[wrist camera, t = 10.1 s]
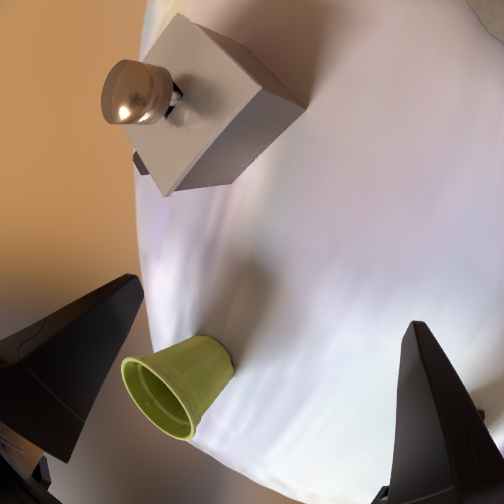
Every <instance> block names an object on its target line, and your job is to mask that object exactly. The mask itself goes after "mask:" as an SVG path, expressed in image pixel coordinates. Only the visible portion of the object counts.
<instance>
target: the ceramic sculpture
mask: <svg viewBox="0 0 504 504" xmlns="http://www.w3.org/2000/svg"><path fill="white" fill-rule="evenodd" d="M466 1H467V3H468V5H469V6H470V7H471V9H472V10H473V11H474V12H475V14H476V15H477V16H478V18H479V19H480V21H481V23H482V24H483V25H484V27H485V28H486V30H487V31H488V32H489V33H490V34H492V35H493V36H494V37H496V38H497V39H498V40H500V41H502V42H503V43H504V0H466Z"/></svg>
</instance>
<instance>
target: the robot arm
mask: <svg viewBox="0 0 504 504" xmlns="http://www.w3.org/2000/svg"><path fill="white" fill-rule="evenodd" d="M143 298H144V291H143V288H142V285H141V283H140V280H139V278H138V276H137V275H134V274H130V273H127V274H124V275H123V276H121V277H119V278H117V279H115V280H113V281H111V282H109V283H107V284H106V285H103V286H102V287H100V288H98V289H96V290H94V291H92V292H90V293H88V294H86V295H85V296H83V297H81V298H79V299H77V300H75V301H74V302H72V303H70V304H68V305H66V306H64V307H63V308H61V309H59V310H57V311H55V312H54V313H52V314H50V315H48V317H45V318H43V319H41V320H39V321H38V322H36V323H34V324H32V325H30V326H28V327H26V328H24V329H22V330H20V331H18V332H16V333H14V334H12V335H10V336H8V337H6V338H4V339H1V340H0V504H62V503H61V502H60V501H59V500H57V499H56V498H55V497H54V496H53V495H52V494H50V493H49V492H48V491H47V490H48V488H49V486H50V484H51V478H50V474H49V469H48V464H47V458H46V457H45V456H44V455H43V453H44V452H47V453H48V454H50V455H52V456H53V457H55V458H57V459H59V460H61V461H62V462H64V463H66V464H68V462H69V460H70V457H71V455H72V453H73V450H74V448H75V445H76V443H77V440H78V438H79V436H80V433H81V431H82V429H83V427H84V424H85V421H86V420H87V417H88V415H89V413H90V411H91V409H92V406H93V404H94V402H95V400H96V398H97V396H98V393H99V391H100V389H101V387H102V385H103V383H104V381H105V379H106V377H107V375H108V373H109V371H110V369H111V367H112V365H113V363H114V361H115V359H116V357H117V355H118V353H119V351H120V349H121V347H122V345H123V343H124V342H125V340H126V338H127V335H128V334H129V332H130V329H131V326H132V325H133V322H134V320H135V317H136V315H137V313H138V310H139V308H140V305H141V303H142V301H143ZM484 418H485V412H484V411H477V409H476V407H475V405H474V403H473V401H472V399H471V397H470V396H469V394H468V392H467V390H466V388H465V386H464V385H463V383H462V381H461V379H460V378H459V376H458V374H457V373H456V371H455V369H454V367H453V366H452V364H451V362H450V361H449V359H448V357H447V356H446V354H445V353H444V351H443V349H442V348H441V346H440V345H439V343H438V341H437V340H436V338H435V337H434V335H433V334H432V332H431V331H430V329H429V328H428V326H427V325H426V323H425V322H423V321H411V323H410V324H409V326H408V329H407V331H406V333H405V335H404V337H403V339H402V344H401V356H400V367H399V376H398V385H397V408H396V429H395V442H394V453H393V463H392V471H391V479H390V485H389V486H383V487H382V488H381V490H380V491H379V493H378V494H377V496H376V497H375V499H374V500H373V501H372V503H371V504H504V458H503V456H502V455H501V453H500V451H499V450H498V448H497V446H496V444H495V443H494V441H493V439H492V437H491V436H490V434H489V432H488V430H487V428H486V426H485V424H484V422H483V421H484Z"/></svg>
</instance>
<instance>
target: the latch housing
mask: <svg viewBox="0 0 504 504" xmlns="http://www.w3.org/2000/svg"><path fill="white" fill-rule="evenodd" d="M142 63H147V64H152V65H157V66H161V67H164V68H166V69H167V70H168V71H169V72H170V74H171V76H172V80H173V90H174V91H179V92H183V94H184V95H183V97H182V98H181V99H180V101H179V102H178V103H177V105H176V106H169V107H168V109H167V111H166V113H165V114H164V116H163V117H162V118H161V119H160V120H159V121H158V122H156V123H154V124H152V125H132V124H122V126H123V128H124V129H125V131H126V133H127V135H128V137H129V138H130V140H131V142H132V144H133V146H134V147H135V149H136V152H135V153H134V155H133V158H134V159H133V161H134V163H135V165H136V167H137V169H138V170H139V172H140V174H141V175H148V174H150V175H151V177H152V178H153V180H154V182H155V183H156V185H157V187H158V188H159V190H160V192H161V193H162V195H163V197H170V196H171V194H172V193H173V192H174V191H180V190H187V189H195V188H202V187H210V186H218V185H227V184H231V183H232V182H233V181H234V180H235V179H236V178H237V177H238V176H239V175H240V174H241V173H242V172H243V171H244V170H245V169H246V168H247V167H248V166H249V165H250V164H251V163H252V162H253V161H254V160H255V159H256V158H257V157H258V156H259V155H260V154H261V153H262V152H263V151H264V150H265V149H266V148H267V147H268V146H269V145H270V144H271V143H272V142H273V141H274V140H275V139H276V138H277V137H278V136H279V135H280V134H281V133H282V132H283V131H284V130H286V129H287V128H288V127H289V126H290V125H291V124H292V123H293V122H294V121H295V120H296V119H297V118H298V117H299V116H300V115H301V114H302V113H304V112H305V111H306V110H307V109H306V108H305V107H304V106H303V105H302V104H301V103H300V102H299V101H298V100H297V99H296V98H295V97H294V96H293V94H292V93H291V92H290V91H289V90H288V89H287V88H286V87H285V86H284V85H283V84H282V83H281V82H280V81H279V80H278V79H277V78H276V77H275V76H274V75H273V74H272V73H271V72H270V71H269V70H267V69H266V68H265V67H264V66H263V65H262V64H261V63H260V62H259V61H258V60H257V59H256V58H255V57H254V56H252V55H251V54H250V53H249V52H248V51H247V50H246V49H245V48H243V47H242V46H241V45H240V44H238V43H236V42H235V41H233V40H231V39H229V38H227V37H225V36H222V35H220V34H218V33H216V32H214V31H212V30H210V29H208V28H205V27H203V26H201V25H199V24H196V23H194V22H192V21H190V20H189V19H188V18H187V17H186V16H184V15H183V14H181V13H177V14H176V15H175V16H174V18H173V19H172V20H171V22H170V23H169V24H168V26H167V27H166V28H165V30H164V31H163V32H162V34H161V35H160V36H159V38H158V39H157V41H156V42H155V44H154V45H153V46H152V48H151V49H150V51H149V52H148V54H147V55H146V57H145V58H144V60H143V62H142Z"/></svg>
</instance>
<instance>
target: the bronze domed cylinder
mask: <svg viewBox="0 0 504 504" xmlns="http://www.w3.org/2000/svg"><path fill="white" fill-rule="evenodd" d="M183 95H184V94H183V92H179V91H174V90H173V80H172V76H171V74H170V72H169V71H168V70H167V69H166V68H164V67H161V66H157V65H152V64H147V63H142V62H137V61H132V60H122V61H120V62H118V63H117V64H116V65H115V66H114V67H113V68H112V69H111V71H110V72H109V74H108V76H107V78H106V81H105V83H104V86H103V90H102V96H101V108H102V113H103V116H104V118H105V120H106V121H107V122H108V123H110V124H132V125H152V124H154V123H156V122H158V121H159V120H160V119H161V118H162V117H163V116H164V114H165V113H166V111H167V109H168V107H169V106H176V105H177V103H178V102H179V101H180V99H181V98H182V97H183Z"/></svg>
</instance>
